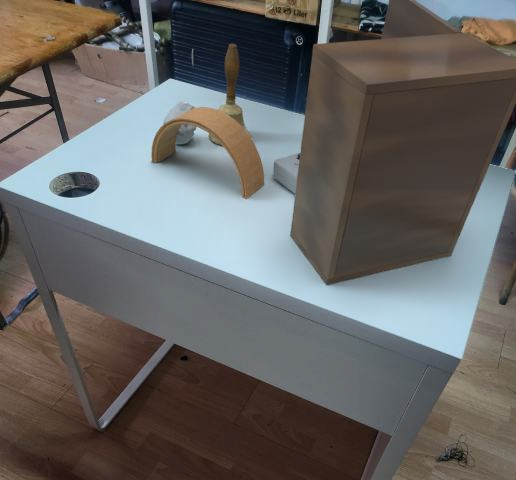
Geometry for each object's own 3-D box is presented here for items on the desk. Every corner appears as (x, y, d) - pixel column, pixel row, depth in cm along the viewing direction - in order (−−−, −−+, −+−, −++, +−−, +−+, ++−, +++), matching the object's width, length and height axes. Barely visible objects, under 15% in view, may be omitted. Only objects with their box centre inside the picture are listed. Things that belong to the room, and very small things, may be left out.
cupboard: (289, 236, 75) (313, 44, 56) (406, 213, 81) (463, 32, 62) (326, 285, 68) (367, 84, 49) (450, 256, 74) (531, 67, 55)
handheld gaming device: (271, 179, 86) (273, 158, 83) (335, 158, 92) (339, 138, 89) (303, 204, 82) (306, 183, 79) (368, 181, 88) (373, 160, 85)
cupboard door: (390, 147, 96) (432, -12, 77) (438, 207, 83) (503, 31, 64) (357, 149, 95) (391, -13, 76) (401, 210, 82) (455, 32, 63)
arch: (172, 149, 91) (168, 92, 84) (264, 184, 85) (268, 126, 77) (151, 161, 88) (145, 103, 81) (245, 199, 81) (248, 139, 74)
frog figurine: (206, 143, 94) (206, 105, 89) (177, 154, 90) (174, 115, 85) (186, 131, 97) (184, 94, 91) (157, 141, 93) (153, 103, 88)
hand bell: (229, 123, 100) (230, 33, 88) (260, 137, 97) (265, 45, 85) (199, 136, 95) (196, 43, 84) (231, 151, 92) (232, 56, 80)
